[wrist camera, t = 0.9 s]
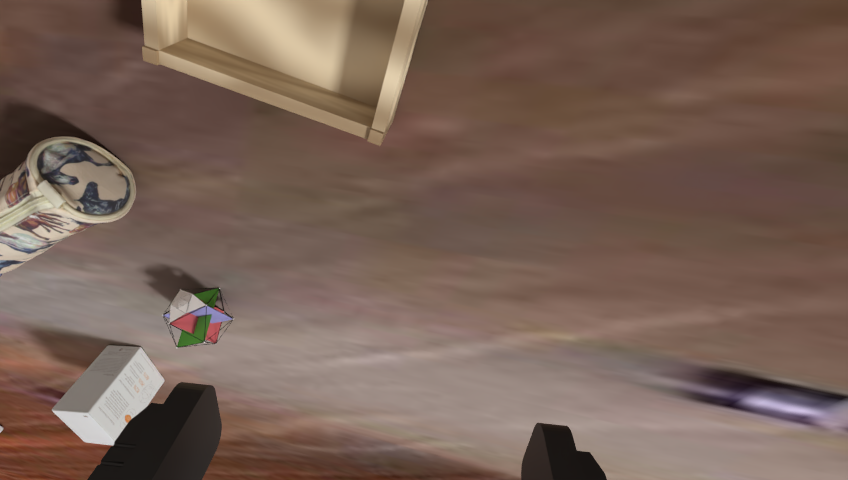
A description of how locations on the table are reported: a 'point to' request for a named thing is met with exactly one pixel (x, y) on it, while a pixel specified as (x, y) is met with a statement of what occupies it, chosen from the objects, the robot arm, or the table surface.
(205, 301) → the geometric puzzle
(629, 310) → the table surface
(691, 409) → the table surface
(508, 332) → the table surface
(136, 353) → the small box
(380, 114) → the wooden tray
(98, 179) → the pencil case
